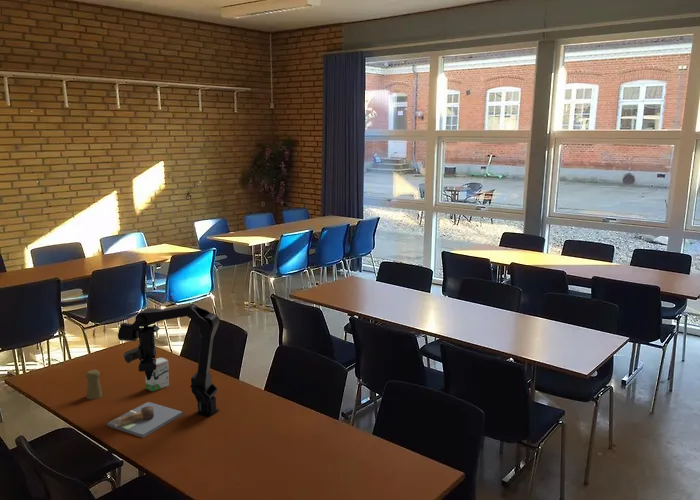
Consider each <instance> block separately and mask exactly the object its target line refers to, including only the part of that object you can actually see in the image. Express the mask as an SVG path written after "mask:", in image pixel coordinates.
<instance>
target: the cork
mask: <svg viewBox="0 0 700 500" xmlns="http://www.w3.org/2000/svg"><path fill="white" fill-rule="evenodd" d="M100 374H101V373H100V371H99V370H98V369H92V370H89V371H86V373H85V377H86V380H87V385H86V386H87V388H86V399H87V400H97V399H101V398H102V397H103V393H102V392H103V391H102V388H101V387H102V386H101V383H100V376H101V375H100Z"/></svg>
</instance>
